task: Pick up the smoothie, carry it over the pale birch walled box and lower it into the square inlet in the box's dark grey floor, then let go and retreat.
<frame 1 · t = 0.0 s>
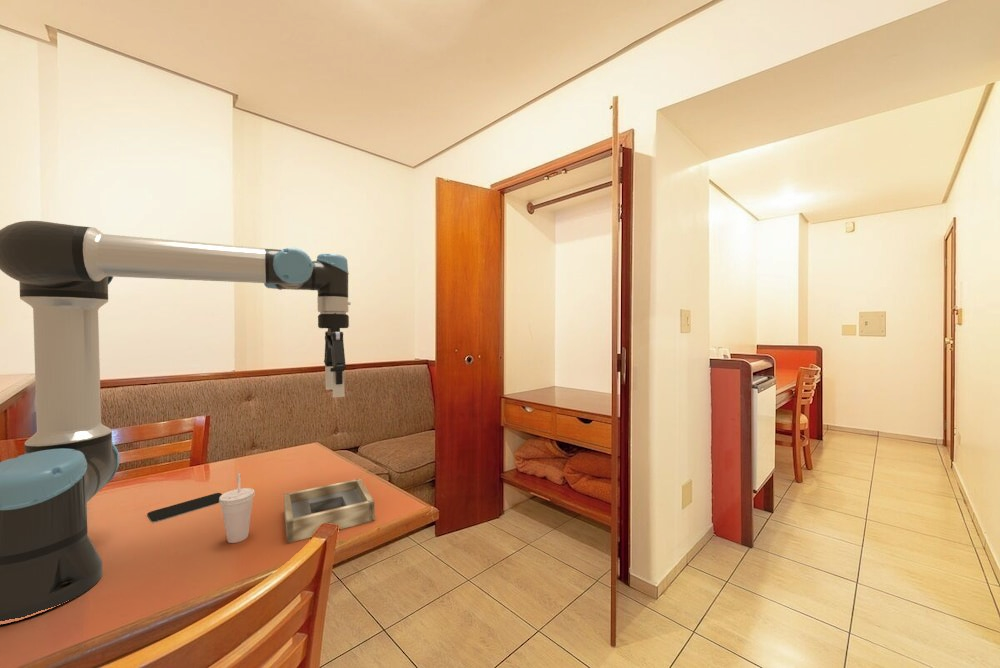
hand: (334, 393, 102), 28 cm above the table, fingers open, 13 cm apart
smoothie: (238, 539, 82), on the table
smartphone: (188, 509, 97), on the table
socket box: (328, 516, 92), on the table
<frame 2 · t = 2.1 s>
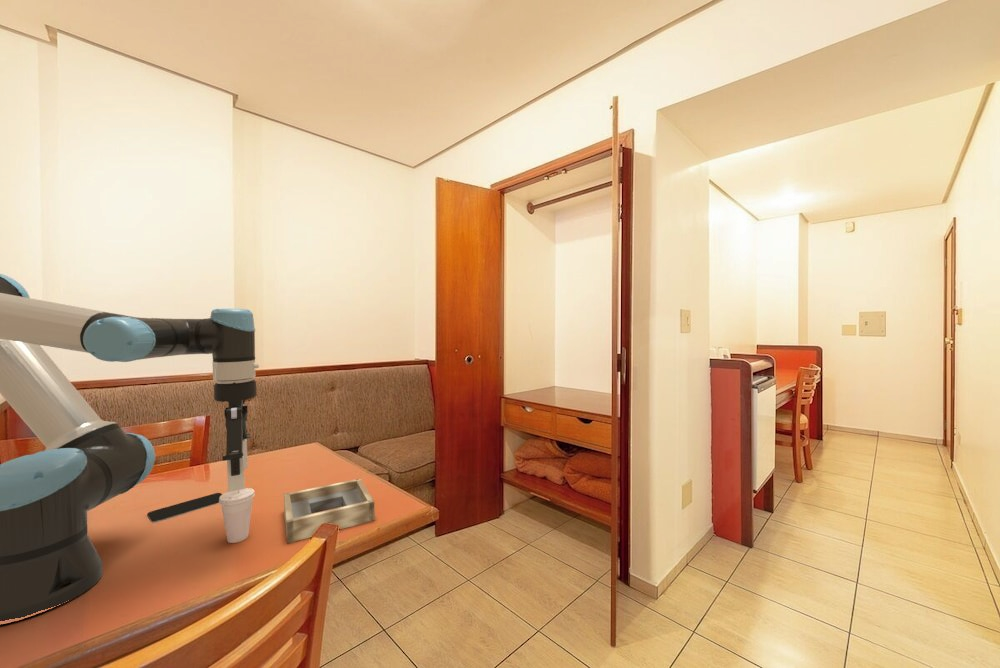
hand: (238, 478, 82), 13 cm above the table, fingers open, 13 cm apart
nothing on the table moved.
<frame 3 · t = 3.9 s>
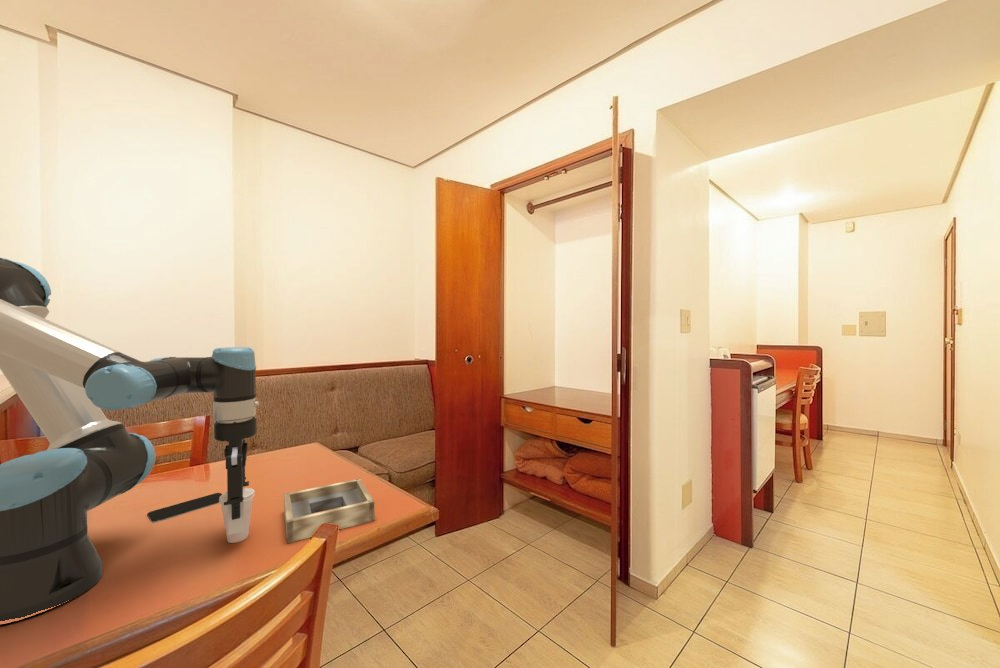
hand: (237, 524, 82), 3 cm above the table, fingers closed on smoothie, 6 cm apart
smoothie: (238, 539, 82), on the table, touching gripper
everything else where it was.
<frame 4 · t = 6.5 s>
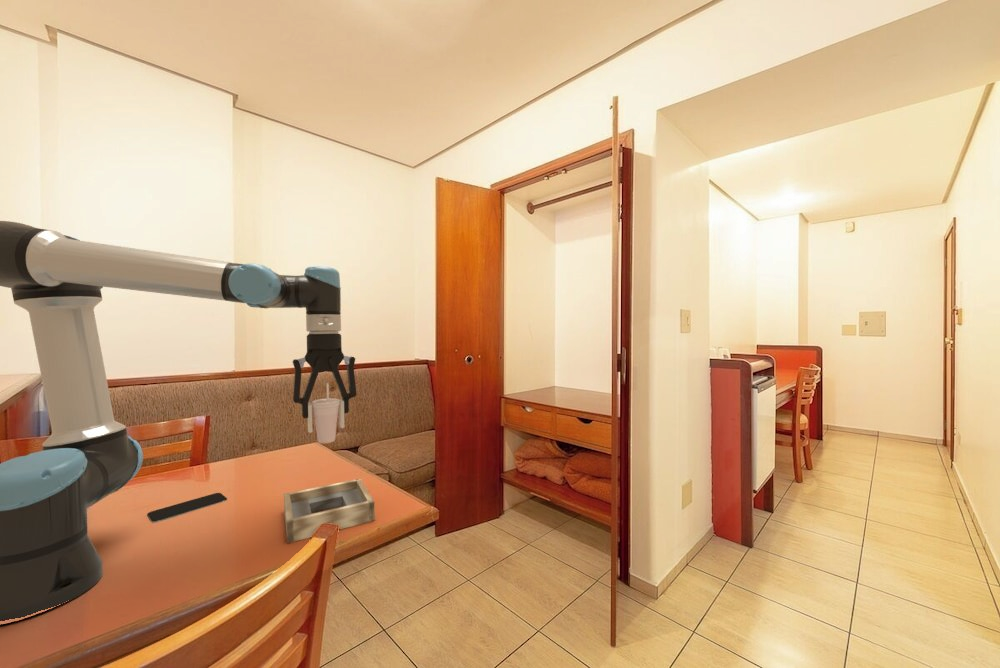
hand: (326, 428, 91), 21 cm above the table, fingers closed on smoothie, 6 cm apart
smoothie: (326, 441, 91), point 18 cm above the table, touching gripper
everything else where it was.
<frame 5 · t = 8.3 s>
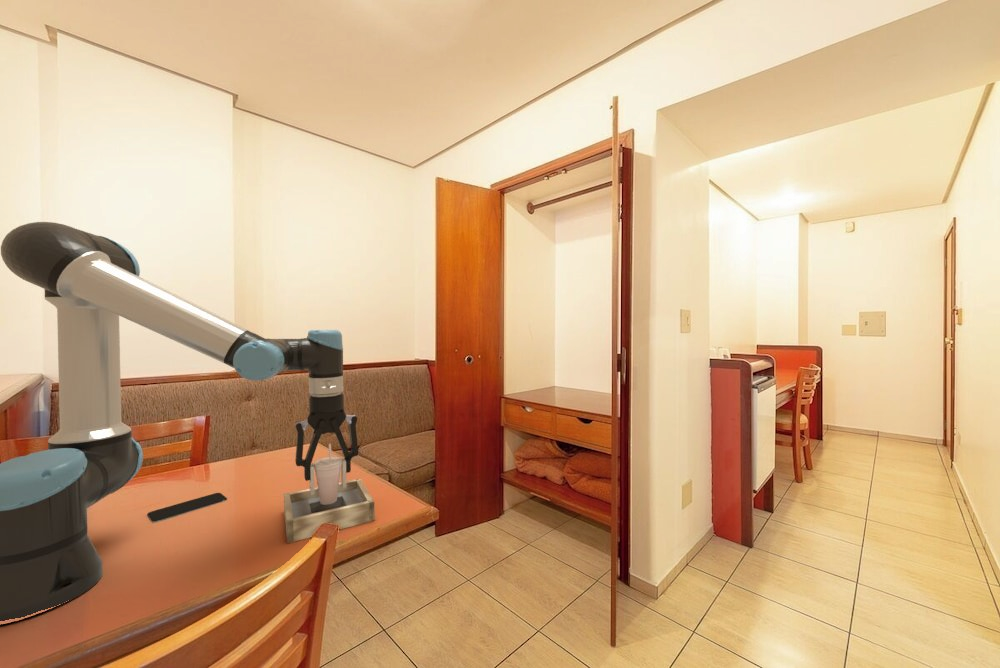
hand: (328, 489, 92), 7 cm above the table, fingers closed on smoothie, 6 cm apart
smoothie: (328, 501, 92), point 3 cm above the table, touching gripper
everything else where it was.
when the fingers open (4 cm above the table, at t = 9.4 s): smoothie drops 1 cm, resting in socket box.
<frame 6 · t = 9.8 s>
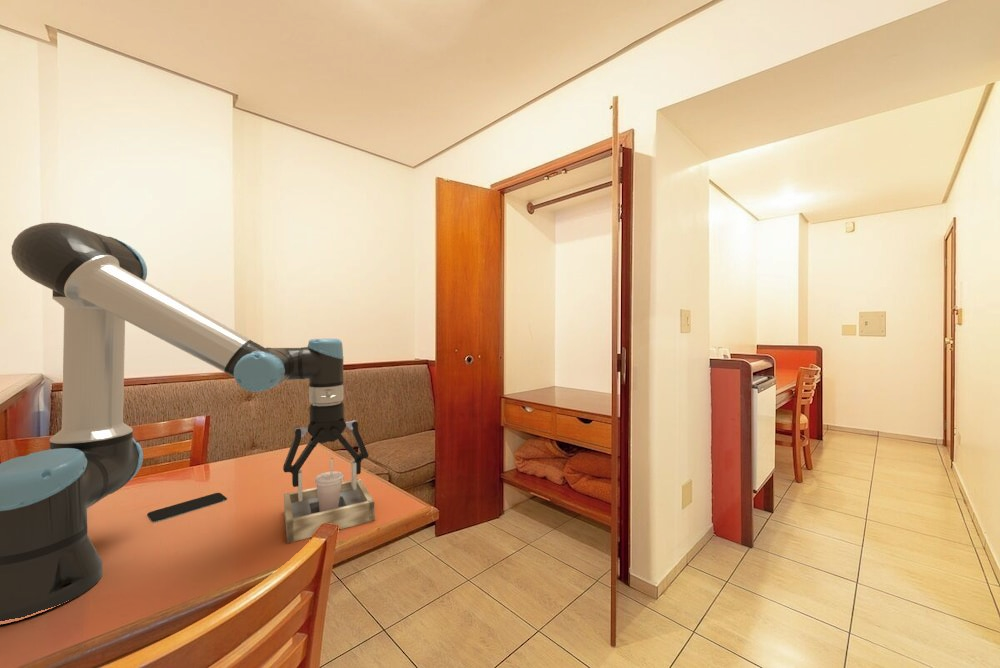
hand: (328, 493, 92), 6 cm above the table, fingers open, 11 cm apart
smoothie: (328, 516, 92), resting in socket box
everything else where it was.
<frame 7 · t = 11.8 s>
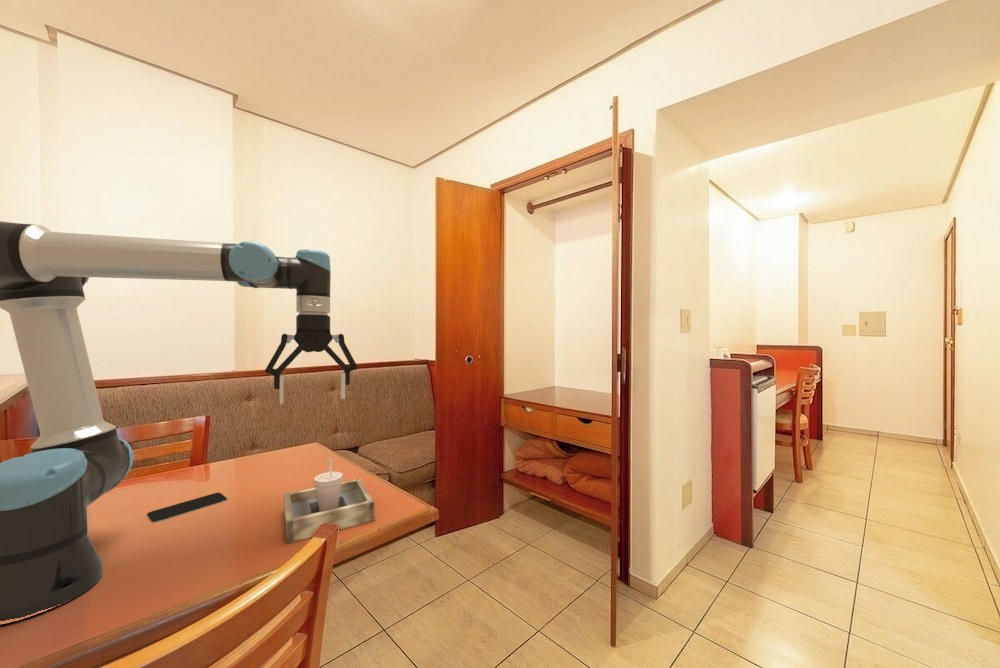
hand: (313, 400, 94), 28 cm above the table, fingers open, 13 cm apart
nothing on the table moved.
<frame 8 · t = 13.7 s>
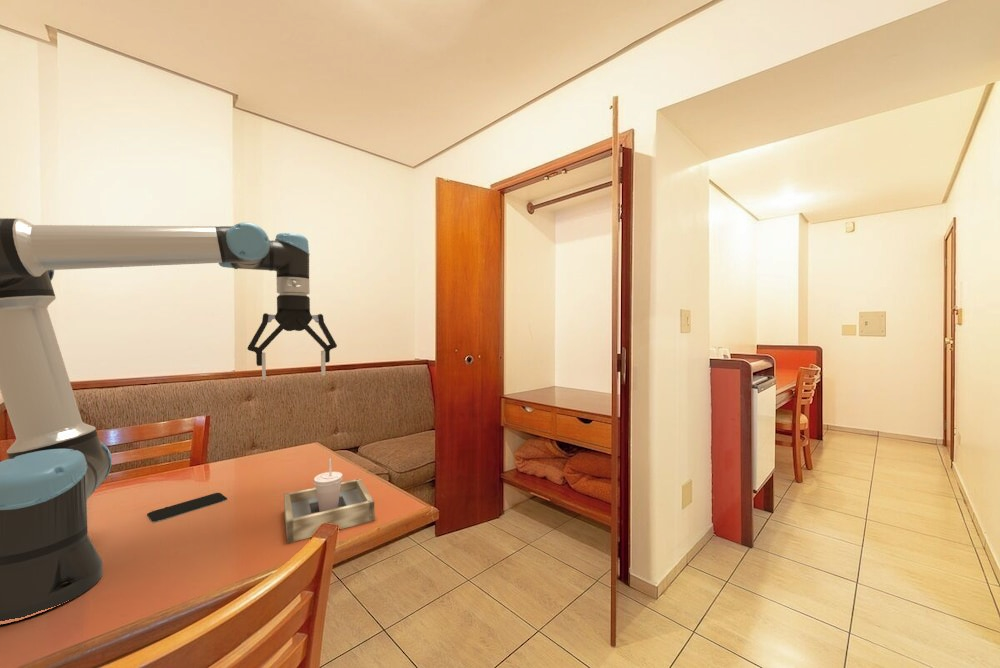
hand: (294, 376, 99), 33 cm above the table, fingers open, 13 cm apart
nothing on the table moved.
at the end: smoothie 0.1 cm off-centre on the socket box, point 0.0 cm above the socket box's base; smoothie tilted 0°; the gripper is holding nothing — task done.
